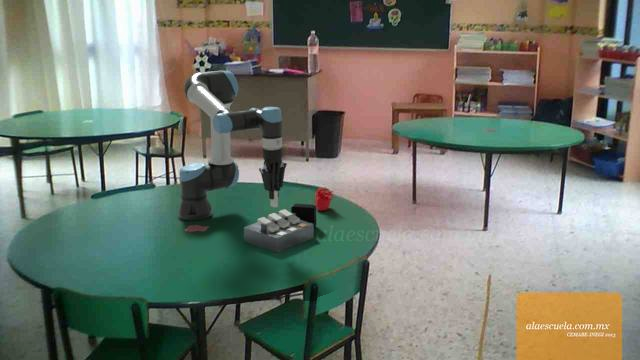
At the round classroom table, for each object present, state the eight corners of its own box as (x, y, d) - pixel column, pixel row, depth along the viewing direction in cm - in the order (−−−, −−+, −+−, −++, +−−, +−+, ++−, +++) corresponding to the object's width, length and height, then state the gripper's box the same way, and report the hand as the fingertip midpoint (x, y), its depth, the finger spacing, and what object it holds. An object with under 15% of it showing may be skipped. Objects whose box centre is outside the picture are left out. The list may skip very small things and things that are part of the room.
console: (244, 241, 254) (243, 220, 252) (280, 227, 269) (280, 207, 267) (277, 252, 242) (276, 231, 240) (313, 237, 257) (313, 216, 255)
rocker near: (257, 222, 251) (257, 218, 250) (263, 220, 253) (263, 216, 253) (272, 232, 246) (273, 228, 245) (278, 229, 248) (279, 226, 248)
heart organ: (331, 204, 299) (331, 180, 295) (336, 212, 287) (336, 187, 284) (310, 205, 297) (310, 181, 294) (315, 213, 286) (314, 188, 282)
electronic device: (314, 230, 266) (314, 207, 263) (291, 228, 268) (291, 206, 265) (316, 226, 270) (316, 204, 267) (293, 225, 272) (293, 203, 269)
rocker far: (278, 214, 259) (278, 210, 259) (284, 212, 262) (284, 208, 261) (293, 224, 255) (294, 220, 254) (299, 222, 257) (300, 218, 256)
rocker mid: (267, 218, 255) (268, 214, 254) (273, 216, 258) (274, 212, 257) (283, 228, 250) (283, 224, 250) (289, 226, 253) (289, 222, 252)
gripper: (266, 152, 232) (268, 212, 239) (291, 146, 242) (292, 204, 248) (253, 149, 237) (255, 208, 244) (277, 143, 246) (279, 200, 253)
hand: (274, 206), depth 246 cm, fingers closed
